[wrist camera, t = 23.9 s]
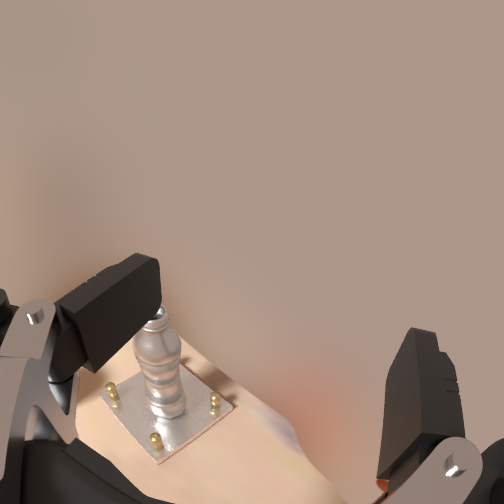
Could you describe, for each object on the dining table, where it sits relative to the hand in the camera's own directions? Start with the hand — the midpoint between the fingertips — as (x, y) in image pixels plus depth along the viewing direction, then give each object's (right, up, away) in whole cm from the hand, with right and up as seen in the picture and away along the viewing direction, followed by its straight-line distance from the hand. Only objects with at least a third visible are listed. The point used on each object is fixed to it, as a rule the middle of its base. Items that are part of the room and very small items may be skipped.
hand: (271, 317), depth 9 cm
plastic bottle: (-14, -23, +34) cm, 44 cm away
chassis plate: (-15, -24, +35) cm, 45 cm away
